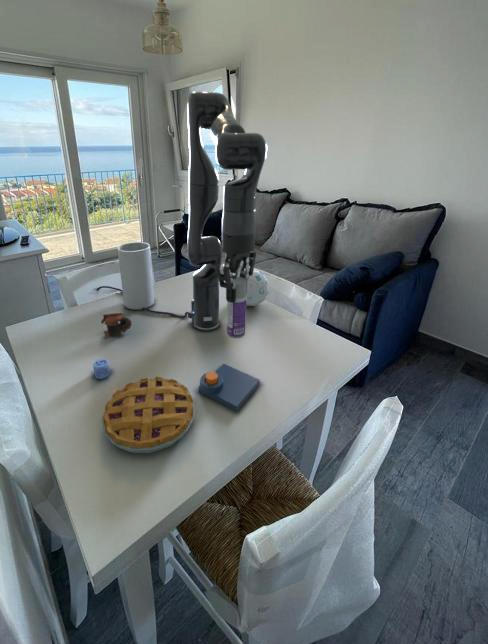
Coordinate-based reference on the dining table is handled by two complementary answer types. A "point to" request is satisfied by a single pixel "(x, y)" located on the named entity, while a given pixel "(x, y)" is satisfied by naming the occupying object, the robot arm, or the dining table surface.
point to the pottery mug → (115, 324)
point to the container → (237, 311)
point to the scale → (229, 387)
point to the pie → (148, 415)
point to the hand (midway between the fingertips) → (236, 297)
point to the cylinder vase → (136, 275)
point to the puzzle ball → (256, 288)
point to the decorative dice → (101, 368)
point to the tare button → (211, 378)
